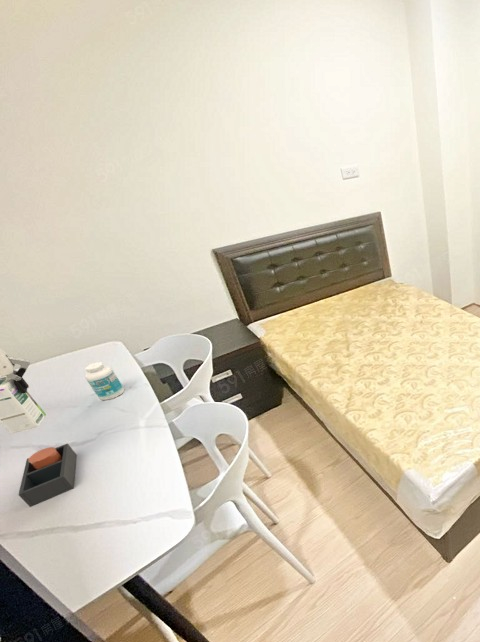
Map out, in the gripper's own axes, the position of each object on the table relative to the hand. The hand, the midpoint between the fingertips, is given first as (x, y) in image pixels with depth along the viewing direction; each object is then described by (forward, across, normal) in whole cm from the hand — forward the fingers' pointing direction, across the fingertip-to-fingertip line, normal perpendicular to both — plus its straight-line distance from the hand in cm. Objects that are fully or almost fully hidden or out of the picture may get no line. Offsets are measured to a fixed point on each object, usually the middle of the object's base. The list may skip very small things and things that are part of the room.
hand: (5, 396), depth 106 cm
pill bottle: (+28, +12, +36) cm, 47 cm away
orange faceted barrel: (+27, -2, -1) cm, 27 cm away
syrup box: (+10, 0, 0) cm, 10 cm away
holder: (+28, -2, -5) cm, 28 cm away
